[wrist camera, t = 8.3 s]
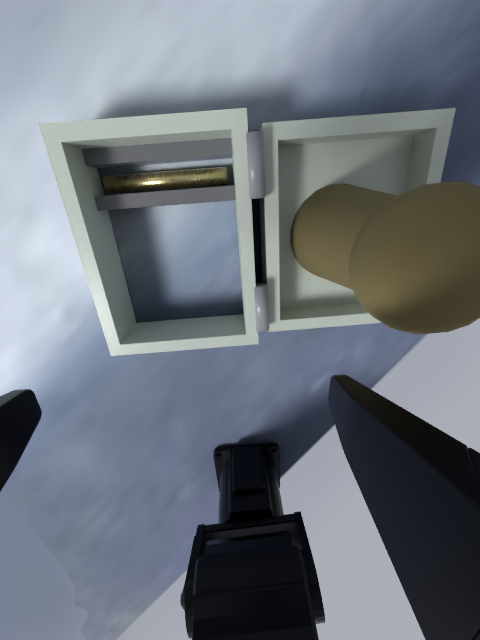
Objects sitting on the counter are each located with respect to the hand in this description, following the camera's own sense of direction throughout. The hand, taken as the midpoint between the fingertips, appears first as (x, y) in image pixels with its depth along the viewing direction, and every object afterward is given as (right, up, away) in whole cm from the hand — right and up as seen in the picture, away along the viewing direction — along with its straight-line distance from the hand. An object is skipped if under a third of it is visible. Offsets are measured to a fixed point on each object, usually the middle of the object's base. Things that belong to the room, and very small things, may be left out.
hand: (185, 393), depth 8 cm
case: (-3, +8, +11) cm, 13 cm away
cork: (+8, +8, +10) cm, 15 cm away
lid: (+8, +8, +11) cm, 16 cm away
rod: (-3, +11, +9) cm, 14 cm away
